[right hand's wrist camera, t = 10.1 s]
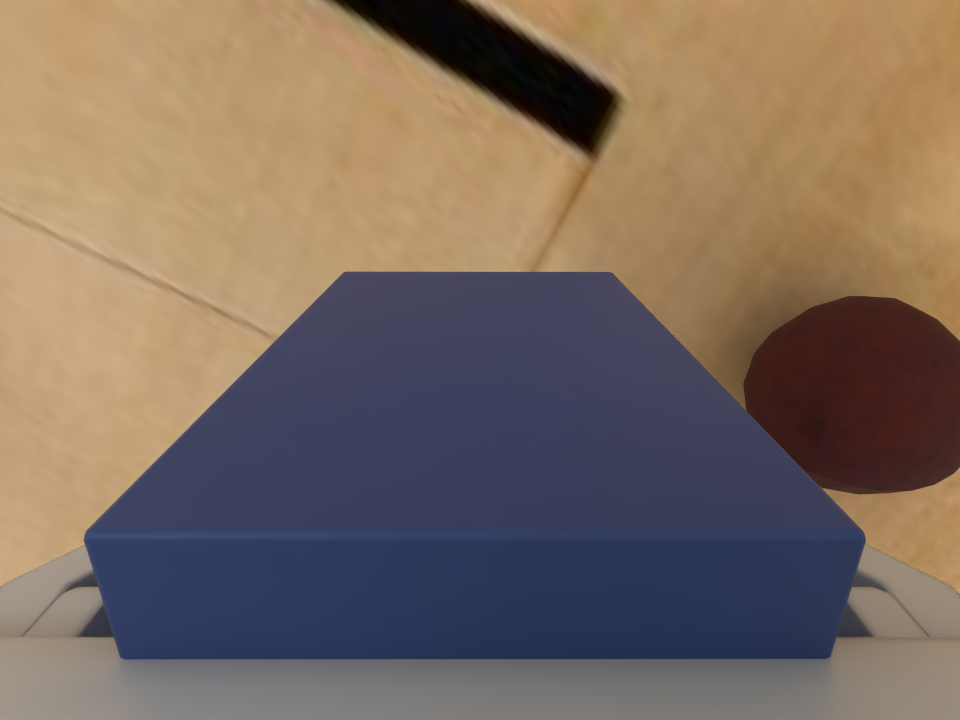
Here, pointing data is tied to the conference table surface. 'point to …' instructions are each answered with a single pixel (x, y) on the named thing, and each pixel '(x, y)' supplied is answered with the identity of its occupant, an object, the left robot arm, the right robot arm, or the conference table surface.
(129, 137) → the conference table surface
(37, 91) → the conference table surface
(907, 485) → the potato
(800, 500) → the box
